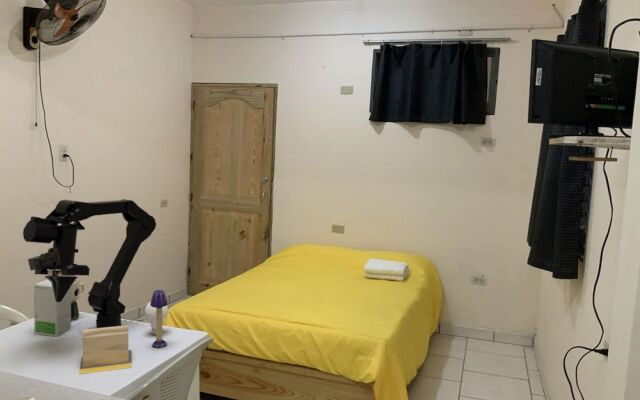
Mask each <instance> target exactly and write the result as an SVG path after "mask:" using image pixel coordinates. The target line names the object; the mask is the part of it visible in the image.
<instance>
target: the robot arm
mask: <svg viewBox="0 0 640 400" xmlns="http://www.w3.org/2000/svg"><path fill="white" fill-rule="evenodd" d="M115 214H121V215H122V217H123V219H124V220H125V222H126V223H127V224H126V227H125V238H124V241H123V243H122V244H121V247H120V248H119V250H118V251H117V252H118V253H117V254H116V256H115V258H114V260H113V261H112V264H111V265H110V268H109V269H108V271H107V274H106V275H105V277H104V278H103V279H102V280H101V281H100V282H99V281H94V282H93V283H92V286H91V289H90V290H89V291H88V293H87V294H88V297H87V301H88V305H89V307H91V308H92V310H93V312H95V313H97V314H96V319H95V329H96V328H106V327H116V326H122V314H124V313H125V311H126V305H124V303H122V302H121V301H119V299H120V296H121V284H122V282H123V280H124V278H125V276H126V274H127V272H128V270H129V268H130V266H131V264H132V263H133V260H134V258H135V256H136V254H137V252H138V250H139V248H140V246H141V245H142V243H143V242H145V241H146V240H147V239H148V238H150V237H151V235H152V234H153V233H154V231H155V230H156V228H157V222H156V219H155V218H154V216H153V215H150V214H149V212H147V211H146V210H144V209H143V208H142V207H140V206H139V205H138V203H136V202H135V200H130V199H119V200H116V199H115V200H105V201H104V200H102V201H90V202H89V201H88V202H86V201H80V200H79V201H78V200H70V199H62V200H61V199H60V200H59V201H58V202H57V204H56V206H55V208H54V209H53V210H52V211H51V212H50V213H49V214H48V215H46V216H45V218H42V217H38V216H33V215H31V216H30V219H29V221H28V222H26V224H25V226H24V227H23V230H22V237H23V240H24V241H25V242H27V243H36V244H50V243H52V247H49V248H48V249H47V252H45V253H41V254H40V255H38V256H37V255H36V256H34V257H31V258H30V257H29V258H28V259H27V262H28V265H29V270H30V271H31V272H32V271H34V275H44V278H45V279H46V280H47V279H48V280H49V281H50V282H51V283H52V287H53V291H54V295H55V300H56V302H61V301H62V300H63V298H64V296H65V295H66V293H67V291H68V290H69V288H70V287H71V285H72V284H73V282H74V281H75V279H79V278H78V276H90V272H91V271H90V269H91V268H90V267H89V266H88V265H87V264H78V263H75V256H76V254H77V253H79V248H76V247H77V240H78V239H77V237H78V231H85V229H86V228H85V226H84V225H82V223H81V221H85V220H88V219H90V218H92V217H95V216H103V215H104V216H105V215H115ZM59 224H60V225H59Z"/></svg>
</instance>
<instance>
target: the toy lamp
mask: <svg viewBox="0 0 640 400" xmlns="http://www.w3.org/2000/svg"><path fill="white" fill-rule="evenodd" d="M150 302H151V304H150V305H151V306H152V307H155V308H156V310H157V311H156V315H157V316H156V320H157V322H156V325H157V327H156V330H157V332H156V335H155V339H156V340H154V341H153V343H152V344H151V347H152V348H153V349H156V350H157V349H164V348H166V347H167V346H168V343H167V341H166V340H164V339H163V325H164V323H163V322H164V321H162V318H163V317H162V313H163V312H162V307H165V306H166V305H167V306H168V299H167V296H166V293H165V291H164V290H162V289H157V290H154V291H153V293H152V296H151V299H150ZM162 324H163V325H162Z"/></svg>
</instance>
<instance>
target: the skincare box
mask: <svg viewBox="0 0 640 400" xmlns="http://www.w3.org/2000/svg"><path fill="white" fill-rule="evenodd" d="M33 293H34V294H33V295H34V297H33V298H34V299H33V300H34V302H33V303H34V304H33V305H34V306H33V307H34V310H33V312H34V313H33V314H34V315H33V316H34V324H33V325H34V327H33V328H34V334H35V335H41V336H49V337H54V338H55V337H56V338H58V337H59V336H61V335H64V334H65V333H68V332H69V331H71V330H72V320H71V287H70V288H69V290H68V291H67V293H66V295H65V296H64V298H63V300H62V301H61V302H56V300H55V295H54V291H53V287H52V283H51V282H50V281H49V280H48V279H47V278H46V280H42V281H39V282H37V283H34V284H33Z"/></svg>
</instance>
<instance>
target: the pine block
mask: <svg viewBox="0 0 640 400" xmlns="http://www.w3.org/2000/svg"><path fill="white" fill-rule="evenodd" d="M81 341H82V343H81V345H82V356H83V368H85V367H93V366H101V365H109V364H117V363H125V362H129V350H130V349H129V325H128V324H127V325H121V326H116V327H106V328H96V327H95V328H87V329H84V330H83V334H82V337H81Z"/></svg>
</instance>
